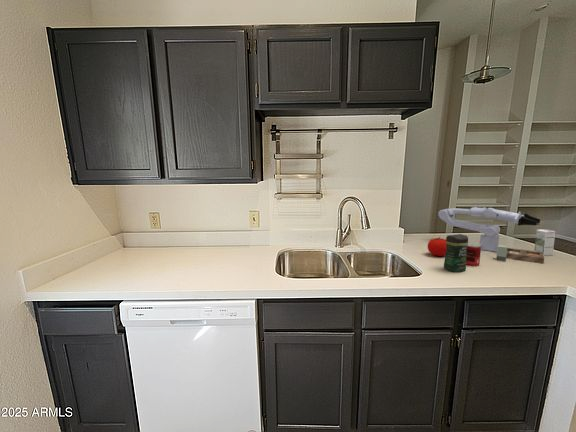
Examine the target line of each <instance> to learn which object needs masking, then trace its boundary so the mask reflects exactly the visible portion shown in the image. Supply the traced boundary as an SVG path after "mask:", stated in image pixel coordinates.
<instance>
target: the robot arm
mask: <svg viewBox="0 0 576 432" xmlns="http://www.w3.org/2000/svg"><path fill="white" fill-rule="evenodd" d="M521 212H522V211H518V213H516V212H512V211H506V210H503V209H502V210H501V209H495V208H493V207H486V206H484V207H478V206H473V207H471V208H459V207H458V208H456V207H453V208H445V209H440V210H439V211H438V213H437V215H438V217H439V219H440V220H442V221H443V222H445V223H446V224H447V225H449V226H452V227H457V228H461V229H464V230H470V231H474V232H478V233H479V232H480V233H481V235H480V238H479V243H478V244H480V245H481V251H483V250H484V251H489V252H496V253H497V247H498V245H499V241H500V236H499V235H500V233H501V228H500V226H499V225H497V224H490V225H489V224H481V223H477V222H472V221H471V222H470V221H467V220H461V219H456V217H455V215H457V214H460V215H470V216H471V217H480V218H481V217H482V218H484V217H485V218H486V219H490V218H491V219H495V220H500V221H503V222H504V221H506V222H510V223H514V224H517V226H537V225H538V224H539V223H541V219H540V218H537V217H535V216H532V215H530V214H528V213H524V215H523V214H522V213H521ZM483 234H484V235H483Z"/></svg>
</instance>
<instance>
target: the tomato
mask: <svg viewBox="0 0 576 432" xmlns="http://www.w3.org/2000/svg"><path fill="white" fill-rule="evenodd" d="M427 250H428V252H429V253H430V254H431V255H433V256H437V257H438V256H439V257H440V256H441V257H443V256H445V254H446V238H441V236H439V237H436V238H431V239H429V241H428V242H427Z"/></svg>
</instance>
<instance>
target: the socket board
mask: <svg viewBox="0 0 576 432" xmlns="http://www.w3.org/2000/svg"><path fill="white" fill-rule="evenodd" d="M544 256H545V255H543V252H538V251H535V250H527V249H521V248H520V249H518V248H512V247H507V255H506V259H509V260H515V261H516V260H517V261H522V262H531V263H537V264H544V263H545V257H544Z"/></svg>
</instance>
